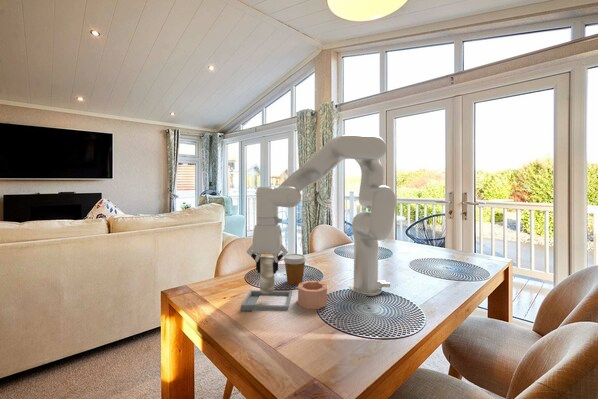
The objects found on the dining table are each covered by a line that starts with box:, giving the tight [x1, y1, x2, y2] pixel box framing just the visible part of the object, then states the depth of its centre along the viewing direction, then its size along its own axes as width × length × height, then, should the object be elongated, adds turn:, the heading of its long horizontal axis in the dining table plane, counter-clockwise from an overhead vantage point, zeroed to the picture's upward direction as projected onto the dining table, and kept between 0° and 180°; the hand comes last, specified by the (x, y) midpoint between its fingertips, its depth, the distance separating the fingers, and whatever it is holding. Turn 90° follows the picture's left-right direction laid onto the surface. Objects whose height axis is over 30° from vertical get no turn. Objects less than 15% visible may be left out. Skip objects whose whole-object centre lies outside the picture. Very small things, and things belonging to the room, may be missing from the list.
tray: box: [240, 289, 293, 313], centre depth 102 cm, size 16×13×2 cm
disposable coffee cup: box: [283, 253, 307, 286], centre depth 121 cm, size 10×10×12 cm
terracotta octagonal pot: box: [297, 280, 328, 310], centre depth 101 cm, size 10×10×7 cm
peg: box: [259, 255, 275, 293], centre depth 101 cm, size 5×5×12 cm
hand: (267, 271), depth 101 cm, fingers closed on peg, 4 cm apart
